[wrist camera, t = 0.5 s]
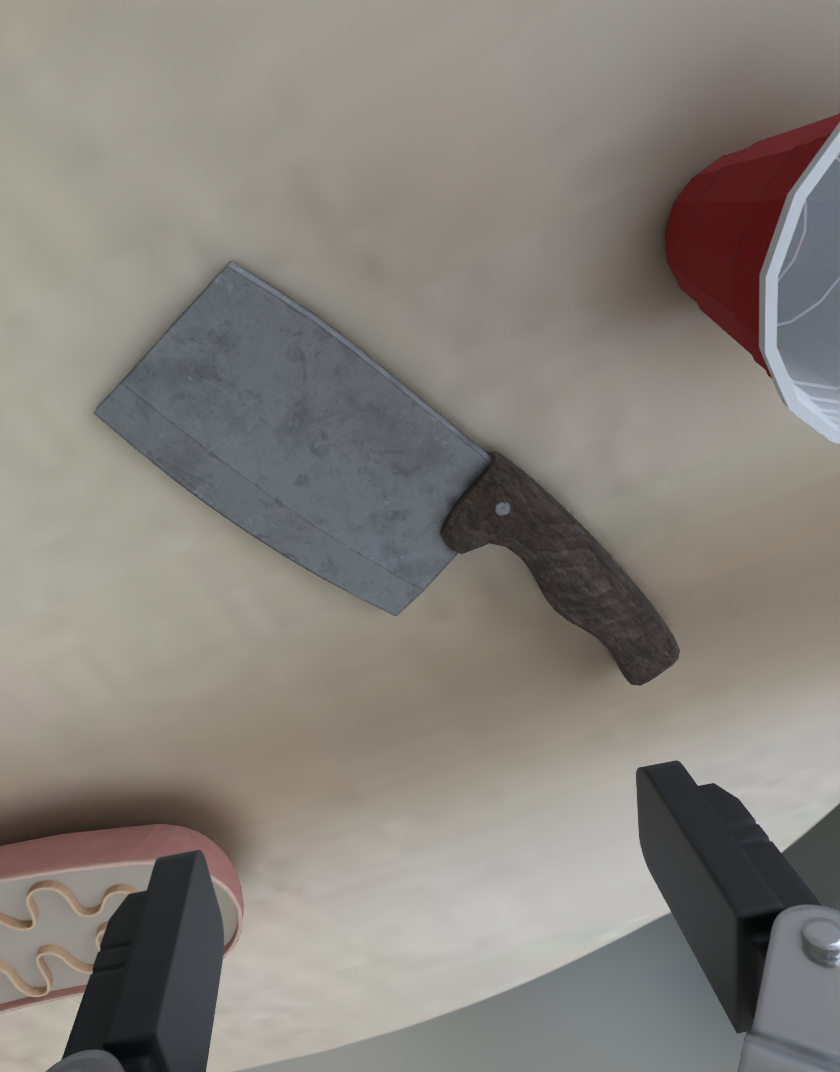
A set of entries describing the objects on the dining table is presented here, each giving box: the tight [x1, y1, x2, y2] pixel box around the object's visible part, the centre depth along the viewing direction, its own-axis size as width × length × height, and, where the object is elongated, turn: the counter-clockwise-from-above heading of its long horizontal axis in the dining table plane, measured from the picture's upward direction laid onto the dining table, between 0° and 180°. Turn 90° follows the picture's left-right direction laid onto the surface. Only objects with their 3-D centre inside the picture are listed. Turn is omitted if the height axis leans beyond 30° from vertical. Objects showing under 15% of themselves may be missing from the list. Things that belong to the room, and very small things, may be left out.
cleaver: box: [94, 261, 680, 685], centre depth 36 cm, size 29×10×2 cm, turn 51°
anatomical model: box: [0, 824, 244, 1014], centre depth 41 cm, size 23×10×5 cm, turn 99°
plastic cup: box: [666, 114, 840, 443], centre depth 27 cm, size 11×11×12 cm
